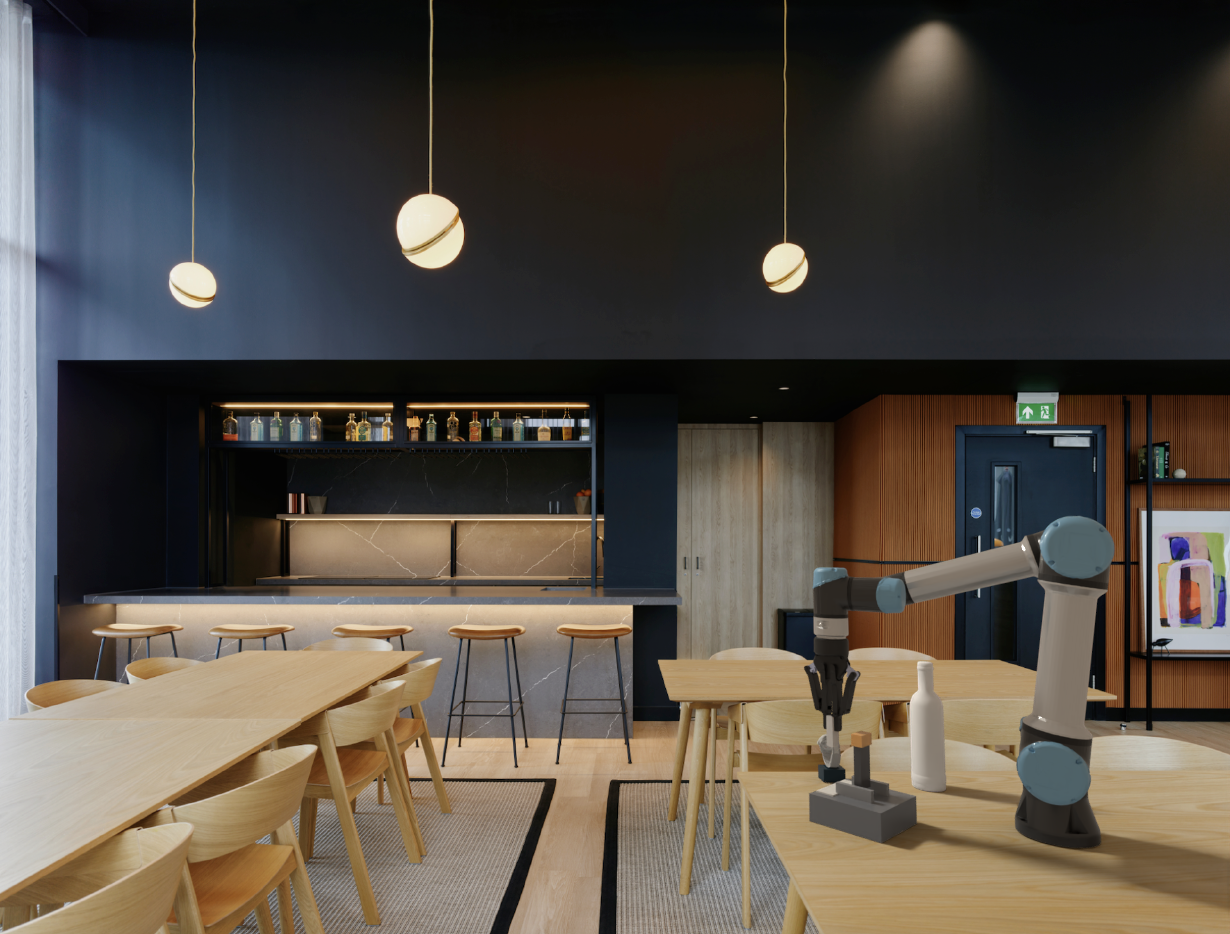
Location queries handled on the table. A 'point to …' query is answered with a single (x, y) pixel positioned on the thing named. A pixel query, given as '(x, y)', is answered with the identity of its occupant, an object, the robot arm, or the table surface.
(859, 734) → the lever
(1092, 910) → the table surface
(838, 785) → the box
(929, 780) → the bottle
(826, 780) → the watch
